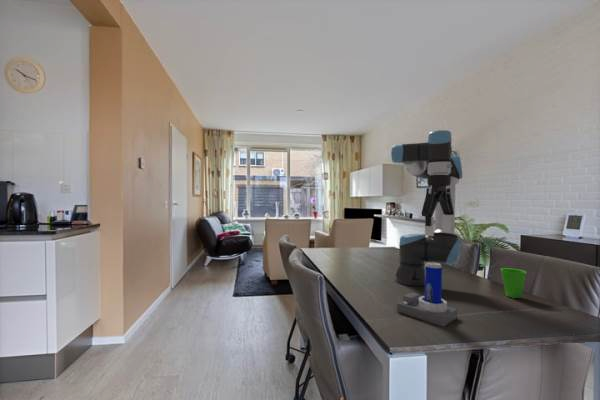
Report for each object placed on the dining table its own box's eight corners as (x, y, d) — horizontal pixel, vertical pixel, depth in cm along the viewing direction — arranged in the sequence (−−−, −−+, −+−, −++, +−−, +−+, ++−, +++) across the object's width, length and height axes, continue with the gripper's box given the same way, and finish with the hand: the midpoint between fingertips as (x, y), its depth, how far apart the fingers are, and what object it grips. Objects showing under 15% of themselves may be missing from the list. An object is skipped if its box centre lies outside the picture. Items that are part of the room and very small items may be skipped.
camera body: (396, 311, 103) (397, 295, 103) (412, 304, 110) (412, 290, 110) (443, 326, 91) (443, 309, 91) (457, 317, 98) (457, 301, 98)
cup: (531, 301, 116) (532, 273, 116) (506, 299, 118) (506, 272, 118) (519, 294, 125) (519, 268, 125) (495, 292, 127) (496, 267, 127)
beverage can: (421, 304, 102) (422, 261, 102) (435, 304, 102) (436, 261, 102) (429, 310, 96) (430, 265, 96) (444, 310, 97) (445, 265, 97)
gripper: (433, 172, 93) (432, 238, 94) (463, 175, 109) (462, 232, 110) (411, 173, 99) (410, 235, 99) (443, 176, 115) (442, 230, 116)
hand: (438, 233), depth 105 cm, fingers open, 13 cm apart
